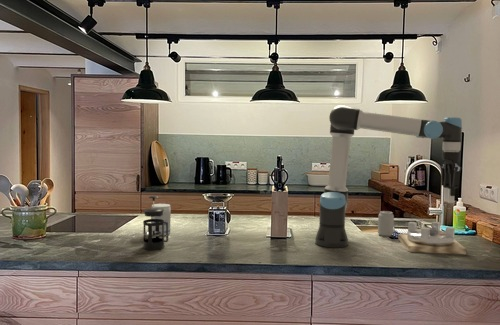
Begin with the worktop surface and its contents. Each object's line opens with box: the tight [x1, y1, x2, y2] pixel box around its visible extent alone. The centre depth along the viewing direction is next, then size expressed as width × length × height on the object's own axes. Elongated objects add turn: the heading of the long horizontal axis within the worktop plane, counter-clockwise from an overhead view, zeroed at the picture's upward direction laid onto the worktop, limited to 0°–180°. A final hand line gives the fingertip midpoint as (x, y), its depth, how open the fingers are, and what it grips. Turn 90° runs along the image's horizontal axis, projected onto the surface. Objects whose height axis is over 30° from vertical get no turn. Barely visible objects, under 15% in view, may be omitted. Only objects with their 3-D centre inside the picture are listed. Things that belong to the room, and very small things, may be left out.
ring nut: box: [406, 221, 456, 246], centre depth 198 cm, size 20×20×7 cm
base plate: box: [397, 233, 467, 255], centre depth 198 cm, size 24×22×3 cm
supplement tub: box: [150, 203, 172, 236], centre depth 214 cm, size 10×10×15 cm
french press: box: [142, 195, 169, 251], centre depth 189 cm, size 12×9×23 cm
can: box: [377, 210, 395, 237], centre depth 218 cm, size 8×8×12 cm
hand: (448, 202), depth 198 cm, fingers open, 3 cm apart
